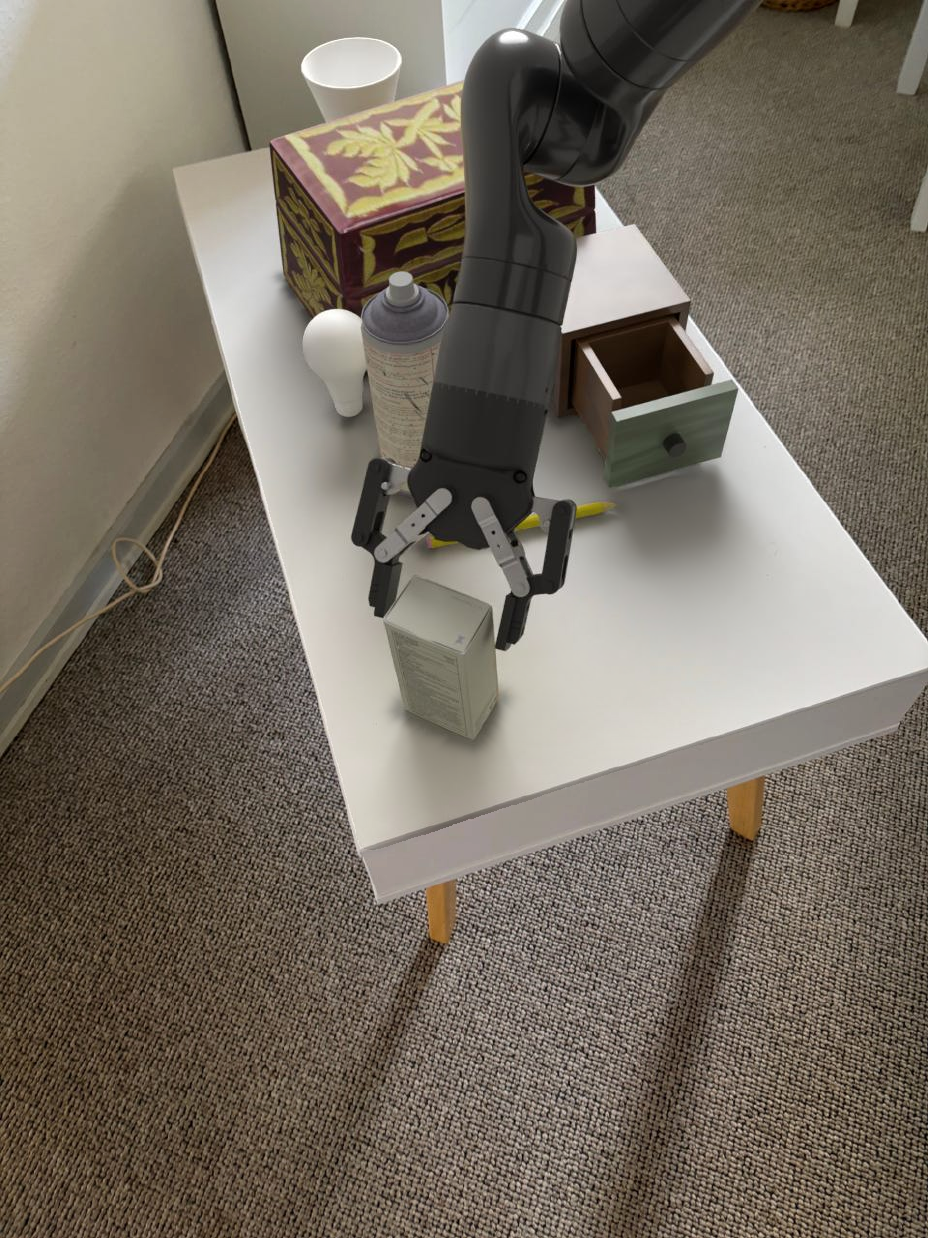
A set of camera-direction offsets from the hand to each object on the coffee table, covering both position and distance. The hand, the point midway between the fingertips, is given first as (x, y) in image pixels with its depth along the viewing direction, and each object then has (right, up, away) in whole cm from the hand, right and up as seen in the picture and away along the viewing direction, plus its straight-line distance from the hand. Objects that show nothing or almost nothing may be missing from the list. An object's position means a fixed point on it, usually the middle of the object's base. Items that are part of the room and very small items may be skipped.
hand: (442, 632), depth 66 cm
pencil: (+6, +9, +17) cm, 20 cm away
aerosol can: (-2, +14, +22) cm, 26 cm away
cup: (-10, +51, +47) cm, 70 cm away
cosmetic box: (0, -6, +8) cm, 10 cm away
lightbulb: (-9, +20, +26) cm, 34 cm away
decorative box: (-1, +36, +36) cm, 51 cm away
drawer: (+17, +17, +21) cm, 32 cm away
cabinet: (+14, +25, +28) cm, 41 cm away
